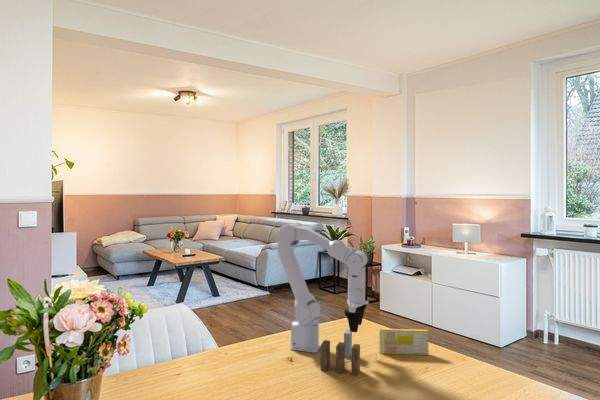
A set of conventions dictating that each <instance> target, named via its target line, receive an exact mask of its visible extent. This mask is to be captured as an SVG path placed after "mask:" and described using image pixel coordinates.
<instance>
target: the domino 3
mask: <svg viewBox="0 0 600 400" xmlns="http://www.w3.org/2000/svg"><path fill="white" fill-rule="evenodd" d="M343 342H344V343H345V359H350V357H352V347H353V345H352V343H353V332H350V329H346V330H345V331H344V333H343Z"/></svg>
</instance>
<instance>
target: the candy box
mask: <svg viewBox="0 0 600 400" xmlns="http://www.w3.org/2000/svg"><path fill="white" fill-rule="evenodd" d="M378 333H379V340H378V341H379V348H378V349H379V354H386V355H387V354H389V355H407V356H408V355H411V356H413V355H414V356H415V355H416V356H429V355H430V354H429V351H430V350H429V330H428V329H421V328H420V329H419V328H418V329H416V328H415V329H412V328H411V329H409V328H383V327H382V328H380V327H379V332H378Z"/></svg>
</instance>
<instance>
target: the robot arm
mask: <svg viewBox="0 0 600 400" xmlns="http://www.w3.org/2000/svg"><path fill="white" fill-rule="evenodd" d="M276 237H277V254H278V257H279V259H280V262H281V265H282V268H283V270H284V273H285V275H286V278H287V280H288V283H289V285H290V288H291V290H292V293H293V295H294V298H295V299H294V305H293V307H294V311H295V313H294V314H295V319H296V320H293V322H292V324H291V329H290V348H289V349H290V350H292V351H300V352H307V353H313V354H316V353H317V352H318V351H319V350H320V349H321V344H322V343H323V342H319V341H320V339H319V337H320V336H319V335H320V329H319V328H320V325H319V324H320V321H319V316H321V313H322V307H321V304H320V303H319V302H318V301H317V300H316V298H315V296H314V295H313V294H311V292H310V290H309V288H308V286H307V285H308V284H307V283H306V280H305V278H304V274H303V272H302V270H301V268H300V265H299V262H298V260H297V257H296V254H295V252H294V251H295V249H296V247H297V245H298V244H299V242H301V241H308V242H310V243H312V244H314V245H316V246H318V247H320V248H322V249H324V250H326V252H327V254H328V256H330V257H332V258H334V259H335V260H338V261H340V262H341V263H343V264H345V265H346V266H347V268H348V271H347V300H346V303H347V305H348V308H345V309H344V314H345V317H346V319H347V321H348V322H347V323H348V327H349V330H350V332H352V333H357V332H358V329H359V326H361V325H362V323H363V318H364V314H365V310H366V308H367V306H368V305H369V300H366V265H367V263H368V256H367V254H366V253H365V252H364V251H363V250H361V249H356V247H351V246H349V245H347V244H345V243H344V240H341V239H339V240H338V239H335V240H330V239H329V238H327V237H325V236H324V235H322V234H320V233H318V232H316V231H314V230H313V229H311V228H310V227H308V226H306V225H303V224H302V223H300V222H294V223H290V224H284V225H281V227H280V228H279V230H278V231H277V234H276Z"/></svg>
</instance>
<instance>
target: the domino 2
mask: <svg viewBox="0 0 600 400" xmlns="http://www.w3.org/2000/svg"><path fill="white" fill-rule="evenodd" d="M345 360H346V358H345V343H344V341H343V342H341V341H338V343H337V344H336V346H335V373H336V374H343V372H344V370H345V367H346V365H345V364H346V363H345V362H346V361H345Z"/></svg>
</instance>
